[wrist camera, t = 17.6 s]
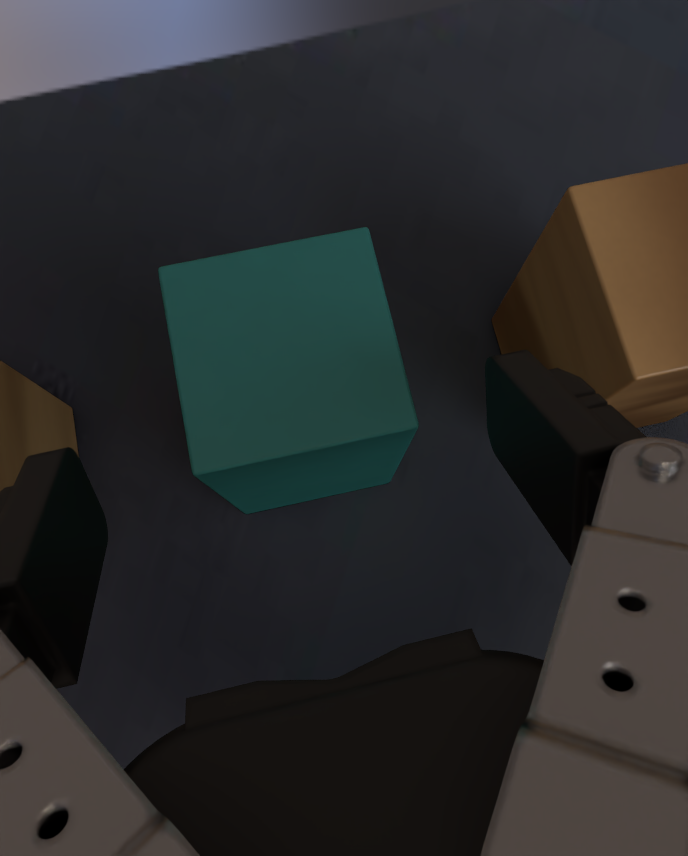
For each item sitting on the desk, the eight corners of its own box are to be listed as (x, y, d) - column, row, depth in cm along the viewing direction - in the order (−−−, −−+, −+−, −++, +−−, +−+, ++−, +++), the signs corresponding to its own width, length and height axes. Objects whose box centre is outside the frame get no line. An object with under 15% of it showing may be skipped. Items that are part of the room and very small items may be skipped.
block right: (530, 452, 22) (635, 380, 14) (490, 319, 23) (567, 185, 15) (667, 421, 22) (845, 334, 15) (621, 291, 23) (763, 146, 16)
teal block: (244, 515, 21) (191, 476, 14) (219, 375, 23) (156, 265, 15) (390, 483, 22) (420, 427, 14) (358, 346, 23) (368, 224, 15)
